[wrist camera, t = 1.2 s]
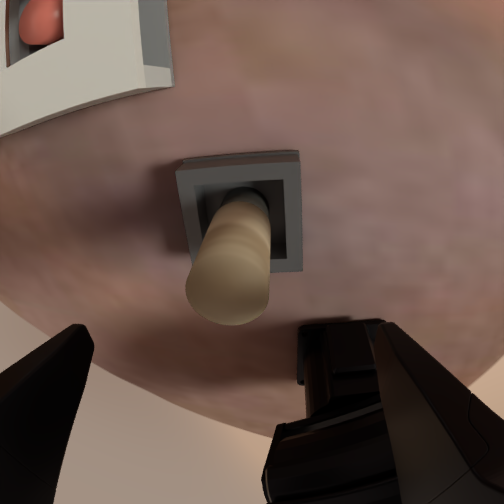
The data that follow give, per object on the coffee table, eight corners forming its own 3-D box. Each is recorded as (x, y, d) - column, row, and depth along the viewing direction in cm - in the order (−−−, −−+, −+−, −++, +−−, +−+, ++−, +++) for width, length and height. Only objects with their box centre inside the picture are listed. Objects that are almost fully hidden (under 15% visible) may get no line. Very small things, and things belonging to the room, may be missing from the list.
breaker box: (175, 86, 14) (138, 88, 10) (23, 129, 15) (-28, 148, 11) (162, -78, 9) (131, -114, 5) (14, -11, 10) (-33, -17, 6)
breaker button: (85, 34, 11) (63, 30, 10) (42, 52, 12) (19, 53, 10) (83, -13, 10) (62, -20, 8) (41, 8, 10) (18, 5, 8)
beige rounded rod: (272, 231, 18) (271, 324, 11) (222, 234, 18) (193, 325, 11) (269, 183, 16) (266, 255, 10) (216, 186, 16) (178, 259, 10)
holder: (301, 252, 19) (304, 272, 17) (201, 256, 19) (193, 276, 17) (298, 150, 16) (302, 159, 14) (184, 159, 16) (172, 169, 14)
